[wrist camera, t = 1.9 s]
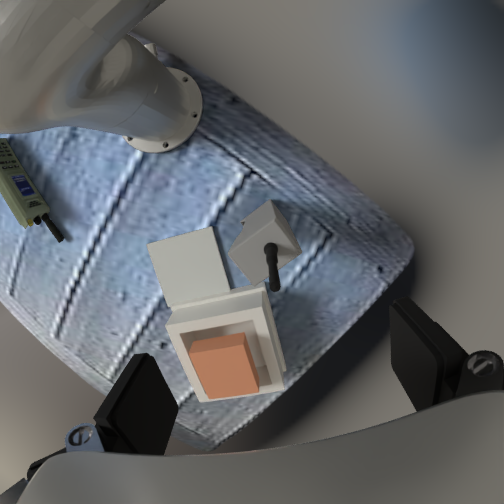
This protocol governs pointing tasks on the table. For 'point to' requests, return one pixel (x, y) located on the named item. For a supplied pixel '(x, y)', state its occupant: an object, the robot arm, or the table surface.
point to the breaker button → (225, 366)
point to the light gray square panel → (189, 266)
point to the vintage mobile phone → (264, 245)
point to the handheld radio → (22, 192)
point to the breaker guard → (230, 332)
